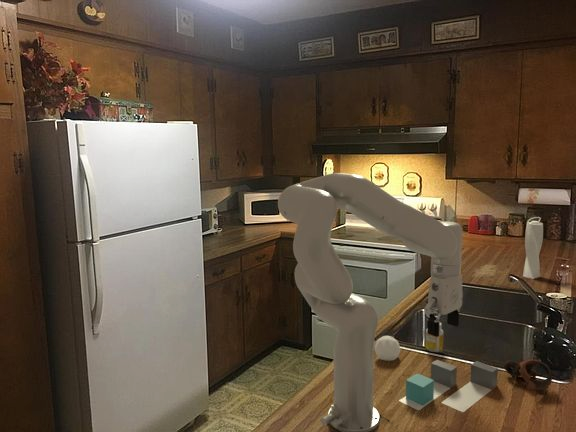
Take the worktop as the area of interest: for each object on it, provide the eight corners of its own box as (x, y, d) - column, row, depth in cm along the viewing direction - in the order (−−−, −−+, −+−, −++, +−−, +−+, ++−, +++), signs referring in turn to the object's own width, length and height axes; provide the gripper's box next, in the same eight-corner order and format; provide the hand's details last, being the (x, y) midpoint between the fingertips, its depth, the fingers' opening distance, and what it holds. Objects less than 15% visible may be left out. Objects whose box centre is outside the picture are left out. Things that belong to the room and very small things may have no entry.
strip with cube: (418, 414, 119) (419, 391, 118) (398, 404, 124) (398, 382, 123) (456, 387, 131) (456, 366, 130) (436, 379, 136) (437, 359, 134)
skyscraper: (528, 273, 230) (532, 215, 226) (543, 276, 224) (548, 217, 220) (519, 276, 226) (522, 217, 221) (535, 280, 220) (539, 220, 215)
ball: (383, 365, 151) (383, 339, 154) (405, 363, 145) (405, 337, 149) (369, 360, 146) (369, 334, 150) (391, 358, 141) (391, 331, 144)
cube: (422, 405, 121) (423, 387, 120) (405, 397, 125) (406, 380, 124) (433, 398, 124) (434, 380, 124) (416, 390, 128) (417, 373, 127)
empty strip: (462, 416, 118) (463, 393, 117) (440, 406, 122) (441, 384, 121) (496, 389, 130) (497, 368, 129) (475, 380, 134) (476, 360, 133)
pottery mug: (546, 379, 135) (556, 363, 130) (542, 407, 129) (553, 392, 124) (501, 362, 140) (510, 345, 134) (496, 388, 133) (504, 372, 128)
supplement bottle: (429, 356, 150) (429, 327, 148) (422, 348, 155) (423, 320, 153) (445, 354, 150) (446, 326, 149) (438, 347, 156) (439, 319, 154)
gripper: (440, 278, 118) (438, 343, 121) (475, 265, 129) (472, 325, 132) (414, 272, 124) (412, 335, 127) (450, 260, 135) (447, 317, 138)
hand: (443, 330), depth 130 cm, fingers open, 9 cm apart
